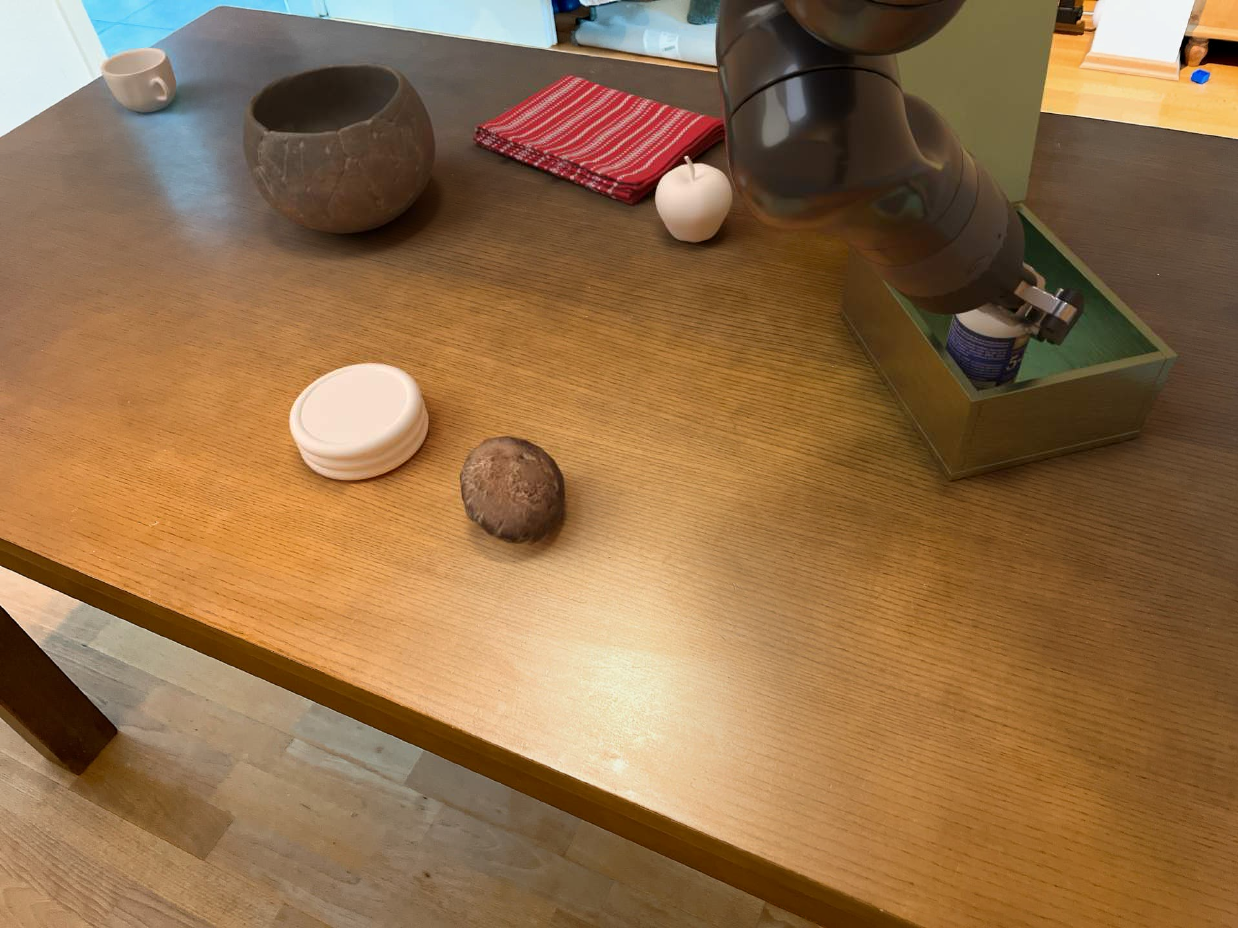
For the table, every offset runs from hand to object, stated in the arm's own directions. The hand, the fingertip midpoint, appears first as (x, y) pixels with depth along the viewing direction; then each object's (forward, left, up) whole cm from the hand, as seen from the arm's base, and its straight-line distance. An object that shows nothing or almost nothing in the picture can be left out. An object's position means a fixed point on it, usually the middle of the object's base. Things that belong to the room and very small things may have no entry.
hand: (1008, 308), depth 64 cm
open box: (+2, -2, -9) cm, 9 cm away
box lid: (+12, -7, +10) cm, 17 cm away
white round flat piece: (+30, +37, -9) cm, 48 cm away
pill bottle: (0, +2, -5) cm, 6 cm away
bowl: (+59, +21, -9) cm, 63 cm away
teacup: (+100, +27, -9) cm, 104 cm away
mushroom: (+15, +33, -9) cm, 37 cm away
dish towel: (+52, -5, -9) cm, 53 cm away
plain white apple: (+32, 0, -9) cm, 33 cm away
